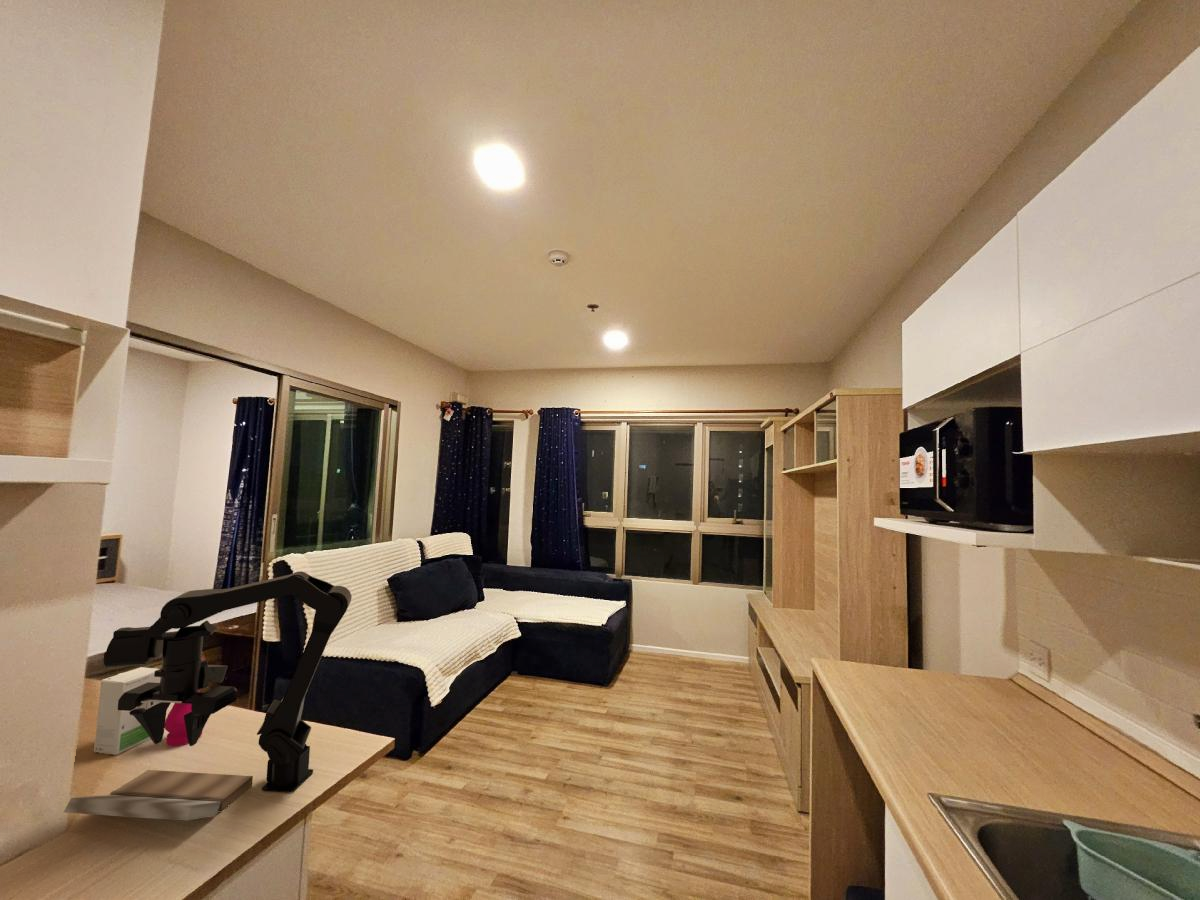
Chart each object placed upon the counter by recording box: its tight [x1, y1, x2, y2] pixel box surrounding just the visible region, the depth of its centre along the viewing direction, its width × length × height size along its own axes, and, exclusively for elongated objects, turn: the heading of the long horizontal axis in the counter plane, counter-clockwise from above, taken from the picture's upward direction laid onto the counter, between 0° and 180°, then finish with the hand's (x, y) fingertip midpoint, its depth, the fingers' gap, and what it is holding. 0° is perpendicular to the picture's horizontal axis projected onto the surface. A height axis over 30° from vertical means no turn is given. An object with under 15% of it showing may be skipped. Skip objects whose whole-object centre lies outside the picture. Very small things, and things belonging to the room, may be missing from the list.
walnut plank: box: [109, 769, 254, 812], centre depth 89 cm, size 22×7×2 cm, turn 88°
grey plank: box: [63, 794, 221, 821], centre depth 82 cm, size 22×7×2 cm, turn 88°
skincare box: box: [93, 666, 161, 756], centre depth 105 cm, size 8×7×16 cm
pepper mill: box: [164, 658, 205, 747], centre depth 107 cm, size 7×7×20 cm
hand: (175, 743), depth 87 cm, fingers open, 7 cm apart
